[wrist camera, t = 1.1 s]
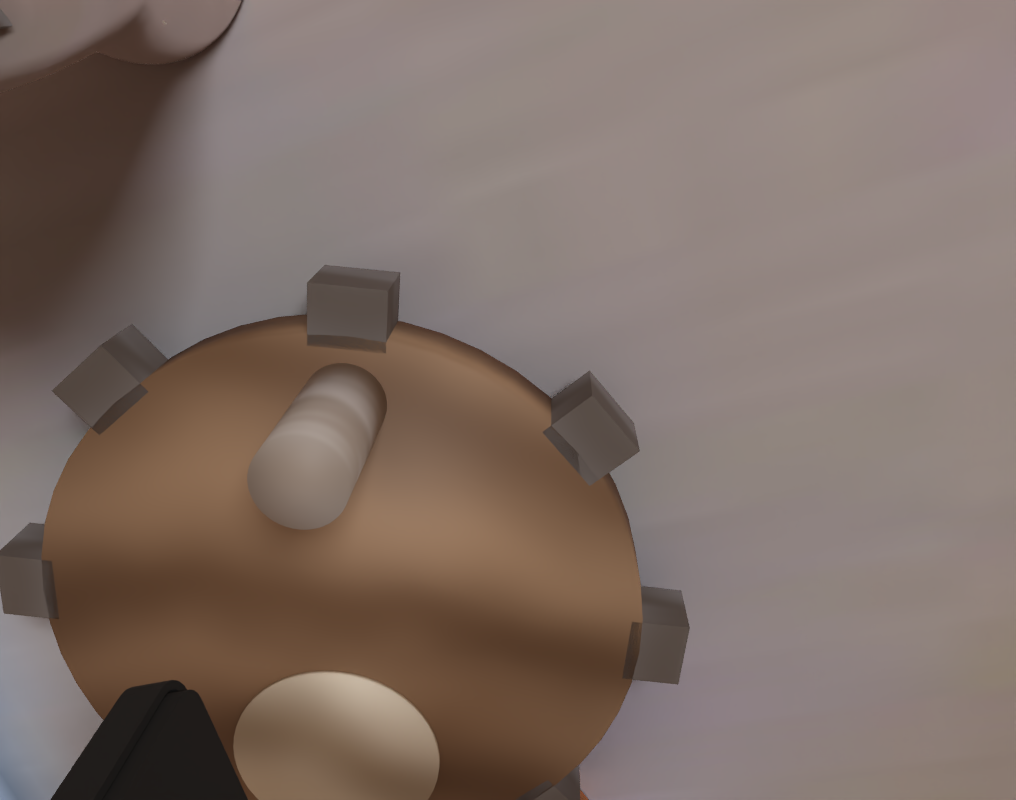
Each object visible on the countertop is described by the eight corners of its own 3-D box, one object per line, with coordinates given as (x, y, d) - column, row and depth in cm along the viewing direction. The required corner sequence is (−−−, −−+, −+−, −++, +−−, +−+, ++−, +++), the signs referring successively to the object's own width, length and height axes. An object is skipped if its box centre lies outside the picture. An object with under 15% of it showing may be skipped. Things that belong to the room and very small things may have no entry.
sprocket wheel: (629, 853, 34) (647, 1045, 28) (65, 793, 34) (-49, 969, 28) (736, 306, 26) (798, 397, 19) (-9, 231, 26) (-196, 296, 19)
